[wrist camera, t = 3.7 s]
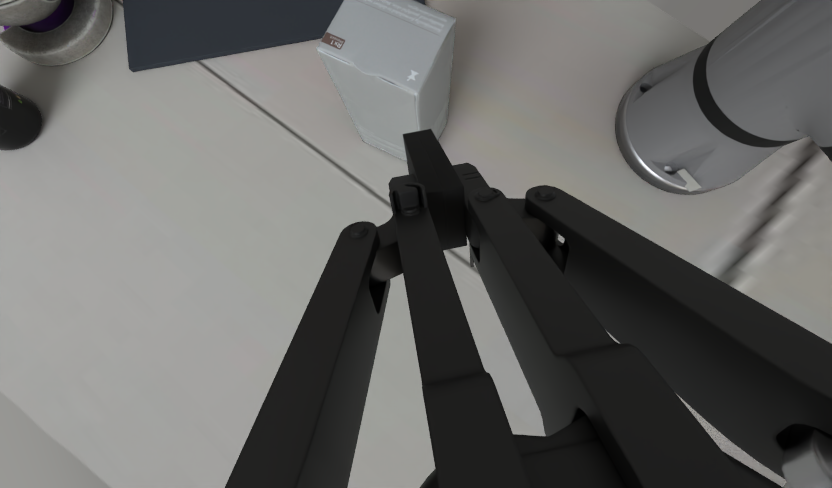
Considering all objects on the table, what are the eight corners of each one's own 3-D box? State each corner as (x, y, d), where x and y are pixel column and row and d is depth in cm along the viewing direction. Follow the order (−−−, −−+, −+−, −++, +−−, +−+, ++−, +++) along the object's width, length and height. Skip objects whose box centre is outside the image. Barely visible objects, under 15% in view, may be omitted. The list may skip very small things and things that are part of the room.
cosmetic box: (447, 124, 38) (469, 10, 22) (419, 176, 37) (422, 97, 21) (383, 93, 38) (360, -39, 23) (354, 145, 38) (311, 44, 22)
